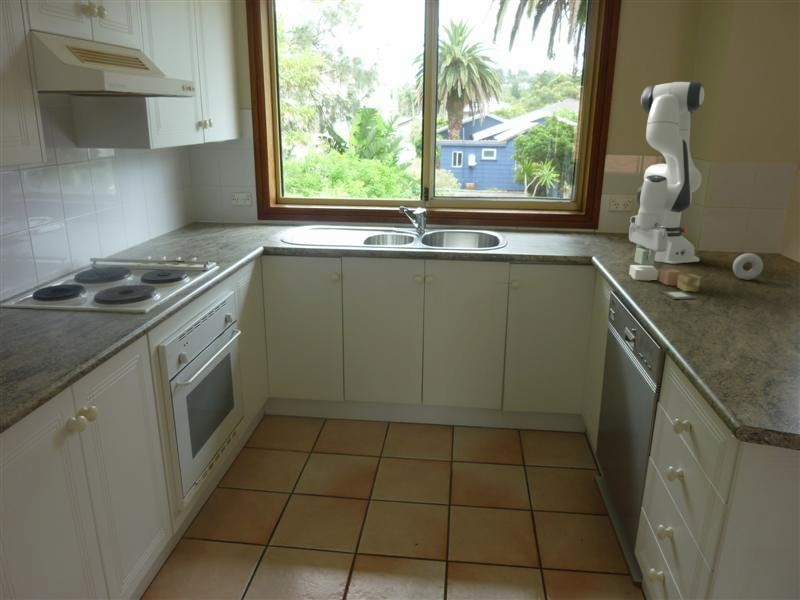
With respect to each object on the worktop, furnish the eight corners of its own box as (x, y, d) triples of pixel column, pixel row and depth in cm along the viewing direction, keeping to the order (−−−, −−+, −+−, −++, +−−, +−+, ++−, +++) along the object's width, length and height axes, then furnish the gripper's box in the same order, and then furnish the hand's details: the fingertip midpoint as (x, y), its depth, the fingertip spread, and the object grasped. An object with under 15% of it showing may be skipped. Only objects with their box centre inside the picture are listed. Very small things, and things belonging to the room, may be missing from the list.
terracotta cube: (671, 281, 220) (673, 268, 218) (679, 285, 215) (681, 271, 213) (658, 282, 219) (660, 268, 217) (666, 285, 214) (668, 272, 213)
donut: (758, 279, 224) (763, 253, 221) (761, 281, 221) (766, 255, 218) (729, 277, 226) (733, 251, 223) (731, 279, 223) (736, 253, 220)
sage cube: (646, 261, 226) (648, 247, 224) (654, 264, 221) (656, 250, 220) (634, 261, 225) (636, 248, 224) (641, 264, 220) (643, 251, 219)
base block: (650, 275, 228) (652, 265, 227) (657, 281, 221) (658, 270, 219) (628, 275, 229) (630, 264, 228) (634, 280, 221) (635, 270, 220)
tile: (682, 292, 206) (682, 290, 206) (696, 298, 199) (696, 297, 198) (660, 292, 205) (660, 291, 205) (674, 299, 197) (674, 298, 197)
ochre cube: (689, 287, 212) (691, 273, 211) (698, 291, 208) (700, 277, 206) (676, 287, 212) (678, 274, 210) (685, 291, 207) (687, 277, 205)
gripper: (674, 226, 209) (668, 265, 213) (643, 216, 228) (638, 252, 232) (657, 226, 208) (652, 265, 212) (627, 216, 228) (623, 252, 232)
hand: (644, 258), depth 223 cm, fingers closed on sage cube, 5 cm apart
